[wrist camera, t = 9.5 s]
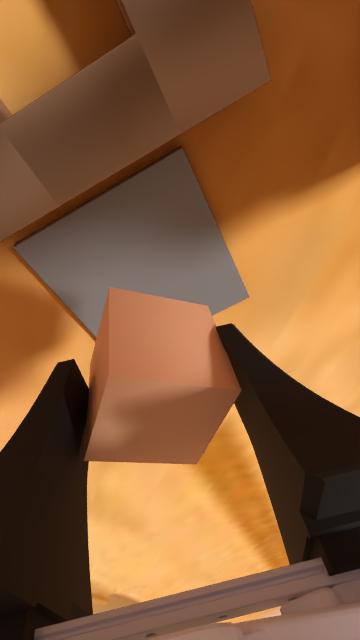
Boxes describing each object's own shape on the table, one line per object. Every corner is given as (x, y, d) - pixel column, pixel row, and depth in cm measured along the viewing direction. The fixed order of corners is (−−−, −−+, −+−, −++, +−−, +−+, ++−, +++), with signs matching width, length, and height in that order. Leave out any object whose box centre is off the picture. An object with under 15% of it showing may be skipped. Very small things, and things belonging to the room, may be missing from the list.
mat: (247, 293, 22) (249, 297, 22) (118, 357, 24) (118, 361, 24) (181, 146, 16) (182, 147, 16) (14, 244, 18) (13, 247, 18)
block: (207, 305, 14) (241, 390, 10) (177, 374, 16) (196, 464, 12) (109, 286, 12) (108, 375, 9) (90, 364, 15) (83, 460, 11)
